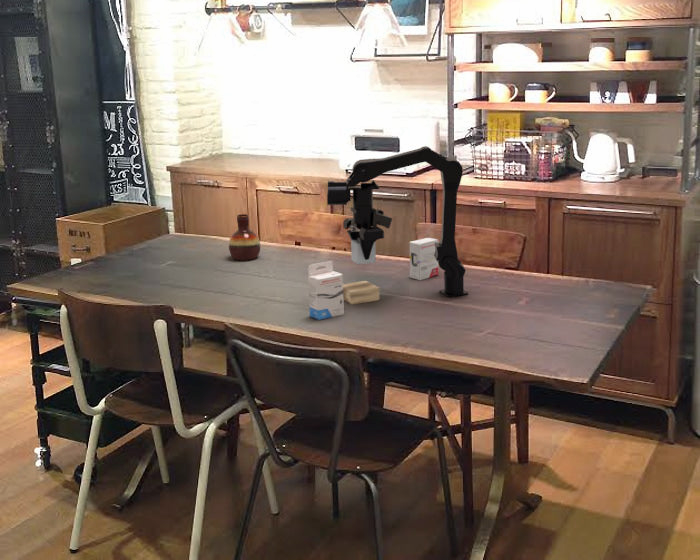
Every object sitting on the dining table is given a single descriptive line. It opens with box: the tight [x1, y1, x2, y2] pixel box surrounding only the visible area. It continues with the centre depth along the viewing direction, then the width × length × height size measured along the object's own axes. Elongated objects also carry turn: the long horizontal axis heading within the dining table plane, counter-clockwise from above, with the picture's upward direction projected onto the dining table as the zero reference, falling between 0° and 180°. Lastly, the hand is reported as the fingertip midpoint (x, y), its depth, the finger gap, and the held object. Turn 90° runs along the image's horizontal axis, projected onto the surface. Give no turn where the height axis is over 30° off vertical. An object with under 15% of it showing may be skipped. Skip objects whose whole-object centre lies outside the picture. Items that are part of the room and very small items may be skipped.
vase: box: [228, 213, 261, 261], centre depth 309 cm, size 11×11×15 cm
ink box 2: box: [409, 237, 439, 281], centre depth 277 cm, size 9×5×12 cm, turn 129°
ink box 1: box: [307, 260, 345, 321], centre depth 242 cm, size 8×5×15 cm, turn 125°
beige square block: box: [343, 280, 380, 305], centre depth 258 cm, size 9×9×4 cm
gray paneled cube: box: [350, 240, 377, 265], centre depth 256 cm, size 6×6×6 cm
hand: (363, 257), depth 256 cm, fingers closed on gray paneled cube, 5 cm apart
